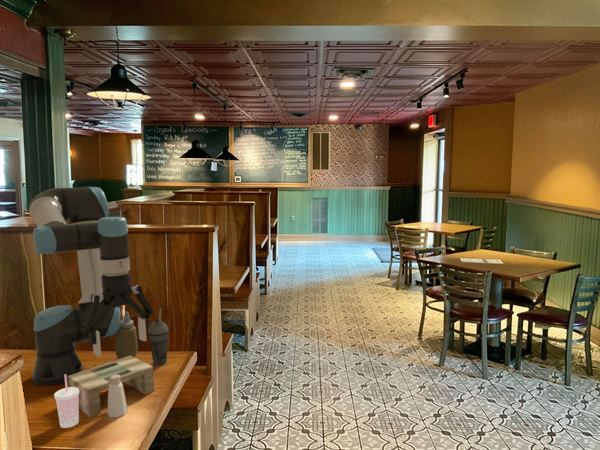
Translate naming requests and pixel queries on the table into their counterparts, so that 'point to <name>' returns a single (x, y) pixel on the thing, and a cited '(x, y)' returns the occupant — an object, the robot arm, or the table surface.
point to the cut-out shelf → (99, 379)
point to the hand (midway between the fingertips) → (121, 347)
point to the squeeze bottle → (126, 338)
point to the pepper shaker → (116, 398)
